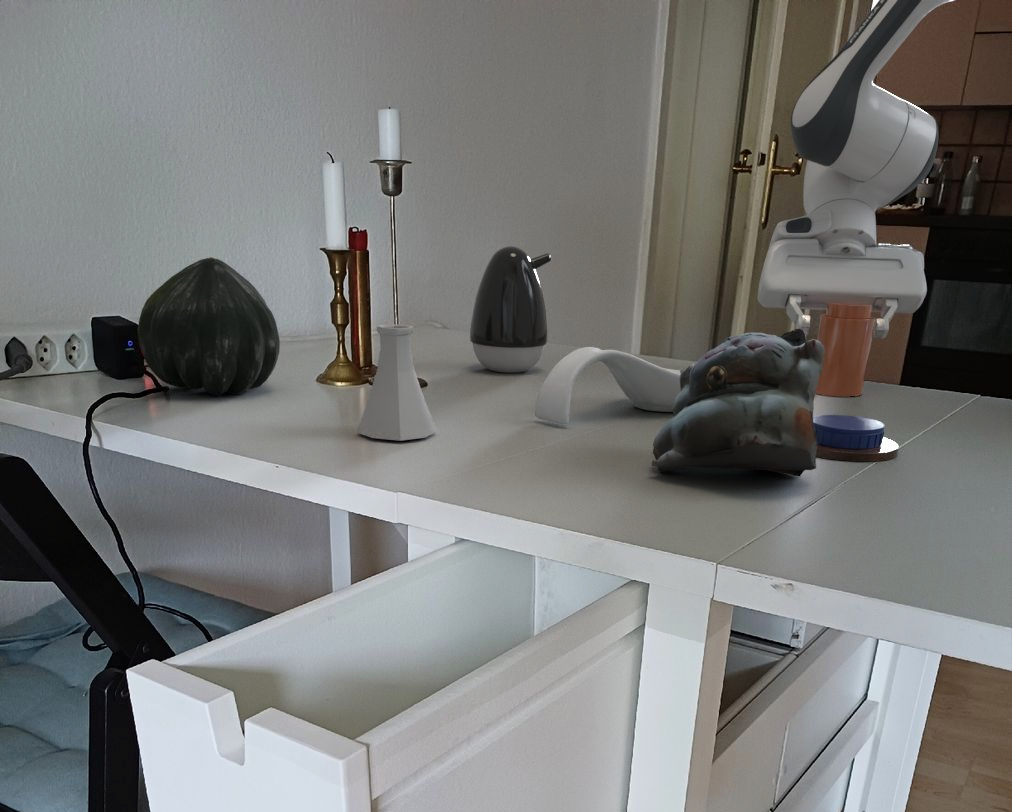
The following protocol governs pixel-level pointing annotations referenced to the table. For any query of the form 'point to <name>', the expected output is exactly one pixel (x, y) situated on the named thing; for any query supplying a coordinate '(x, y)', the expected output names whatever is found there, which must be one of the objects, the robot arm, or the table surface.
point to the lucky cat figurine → (746, 407)
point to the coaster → (859, 452)
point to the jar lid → (848, 431)
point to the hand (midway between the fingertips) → (841, 333)
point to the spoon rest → (631, 373)
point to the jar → (845, 347)
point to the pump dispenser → (510, 312)
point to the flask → (396, 392)
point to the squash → (209, 330)
